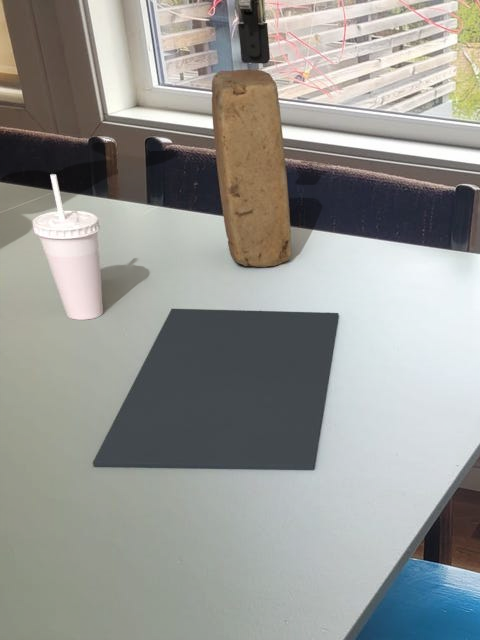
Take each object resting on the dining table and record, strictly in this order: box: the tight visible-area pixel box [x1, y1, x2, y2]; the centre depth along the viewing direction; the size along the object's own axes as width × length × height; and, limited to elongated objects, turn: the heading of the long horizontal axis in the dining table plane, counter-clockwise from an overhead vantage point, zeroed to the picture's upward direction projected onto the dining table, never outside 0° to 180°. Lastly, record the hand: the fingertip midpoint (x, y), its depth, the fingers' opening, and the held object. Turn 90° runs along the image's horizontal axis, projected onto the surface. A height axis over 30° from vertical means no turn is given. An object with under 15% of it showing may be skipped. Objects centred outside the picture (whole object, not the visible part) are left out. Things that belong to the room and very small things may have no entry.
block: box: [211, 69, 292, 268], centre depth 117 cm, size 11×8×20 cm
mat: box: [92, 308, 340, 471], centre depth 95 cm, size 18×34×1 cm, turn 3°
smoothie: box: [32, 173, 104, 321], centre depth 102 cm, size 6×6×14 cm
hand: (256, 61), depth 120 cm, fingers closed
